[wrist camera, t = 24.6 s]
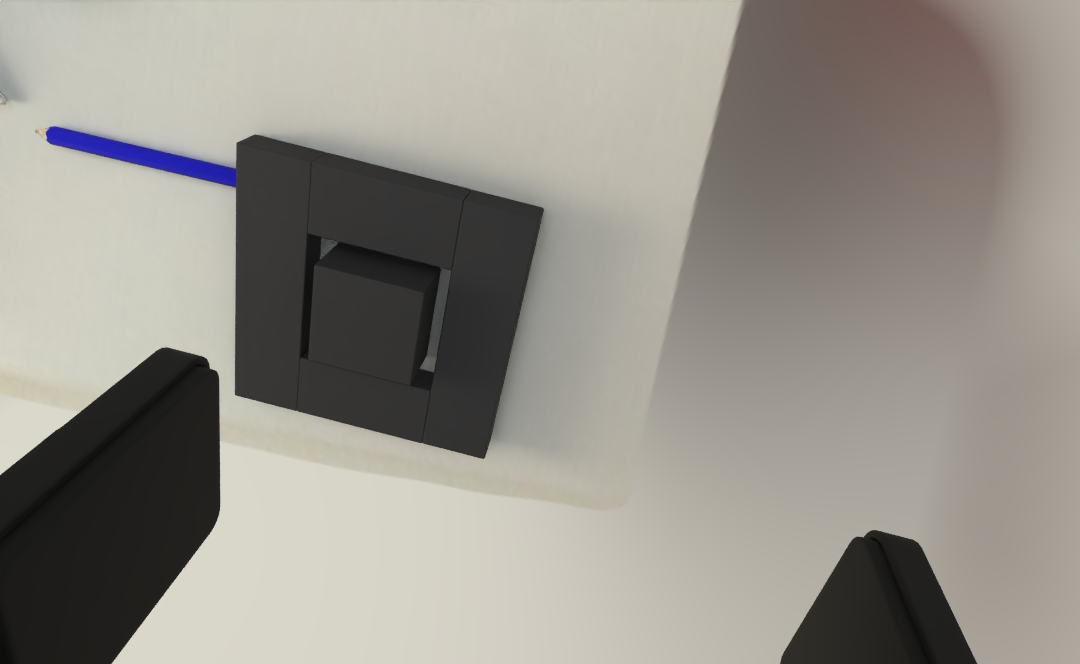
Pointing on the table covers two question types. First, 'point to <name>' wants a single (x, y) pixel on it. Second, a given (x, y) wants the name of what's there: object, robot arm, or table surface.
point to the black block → (372, 312)
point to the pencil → (139, 155)
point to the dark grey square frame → (393, 228)
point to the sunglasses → (2, 99)
